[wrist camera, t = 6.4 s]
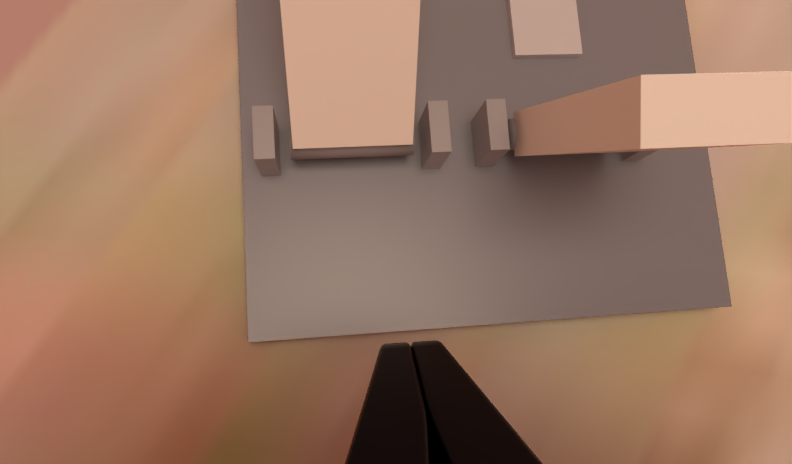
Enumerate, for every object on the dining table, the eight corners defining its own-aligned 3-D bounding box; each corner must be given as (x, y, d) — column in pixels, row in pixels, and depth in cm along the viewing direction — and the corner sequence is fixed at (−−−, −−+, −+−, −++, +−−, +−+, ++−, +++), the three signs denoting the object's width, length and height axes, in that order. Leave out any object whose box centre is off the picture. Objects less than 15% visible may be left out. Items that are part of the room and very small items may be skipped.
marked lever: (415, 164, 18) (432, -153, 13) (291, 169, 18) (261, -157, 13) (408, 142, 20) (423, -159, 14) (291, 146, 19) (264, -163, 14)
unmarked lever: (613, 152, 20) (814, 142, 12) (504, 157, 20) (635, 149, 11) (613, 110, 20) (817, 70, 12) (503, 113, 19) (636, 74, 11)
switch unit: (712, 307, 21) (775, 304, 18) (252, 341, 19) (238, 344, 16) (666, -7, 23) (716, -57, 20) (240, -4, 21) (225, -58, 18)
